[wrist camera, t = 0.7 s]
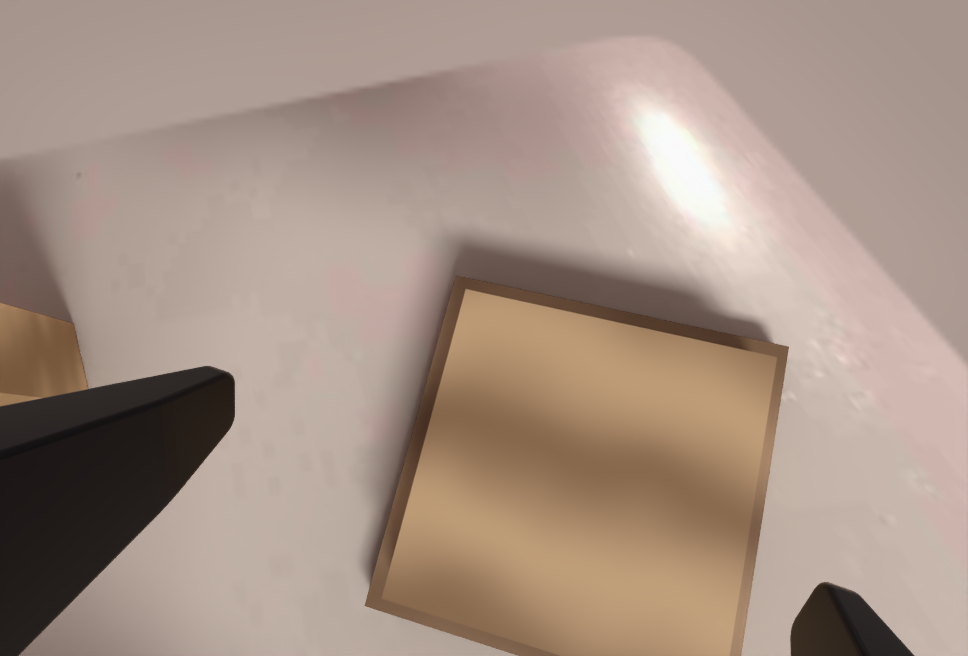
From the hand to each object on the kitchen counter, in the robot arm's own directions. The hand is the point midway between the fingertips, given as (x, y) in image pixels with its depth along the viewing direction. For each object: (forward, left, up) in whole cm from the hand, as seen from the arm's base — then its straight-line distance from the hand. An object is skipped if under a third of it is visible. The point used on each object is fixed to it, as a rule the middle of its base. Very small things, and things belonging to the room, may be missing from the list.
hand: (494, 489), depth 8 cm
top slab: (0, -2, -13) cm, 13 cm away
